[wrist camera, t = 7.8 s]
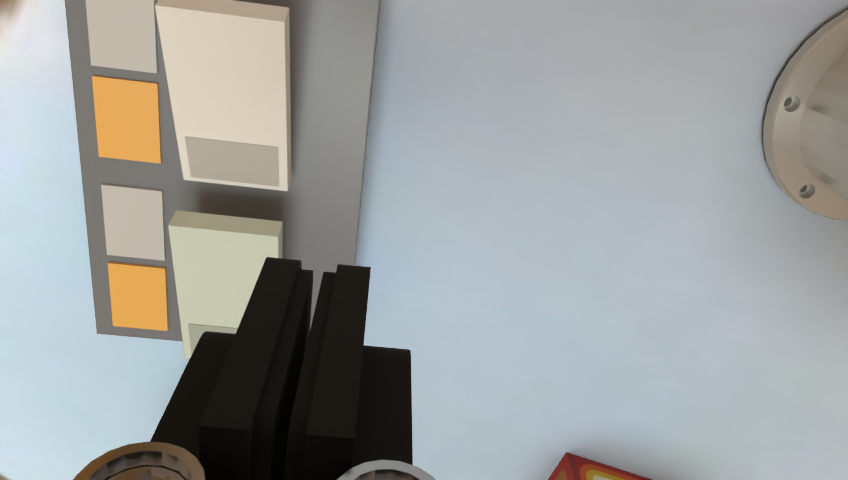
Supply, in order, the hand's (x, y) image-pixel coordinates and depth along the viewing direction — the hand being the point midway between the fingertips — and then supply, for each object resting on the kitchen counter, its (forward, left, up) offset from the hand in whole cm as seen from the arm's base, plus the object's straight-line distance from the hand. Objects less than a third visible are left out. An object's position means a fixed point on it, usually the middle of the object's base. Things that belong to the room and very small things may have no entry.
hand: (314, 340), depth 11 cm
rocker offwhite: (+6, +2, -21) cm, 22 cm away
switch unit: (+7, +7, -27) cm, 29 cm away
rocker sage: (+6, +12, -21) cm, 25 cm away
